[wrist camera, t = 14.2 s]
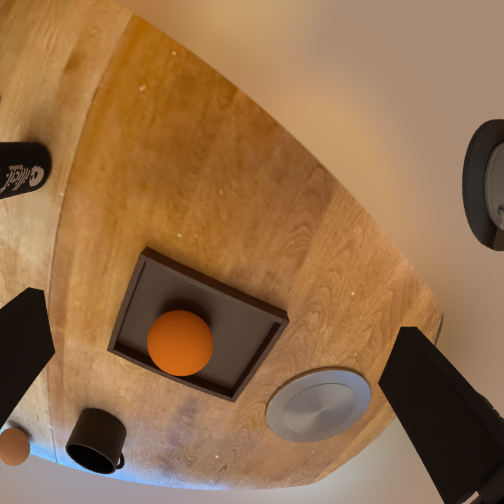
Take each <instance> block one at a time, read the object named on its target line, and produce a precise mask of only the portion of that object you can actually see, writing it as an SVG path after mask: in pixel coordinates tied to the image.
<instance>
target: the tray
mask: <svg viewBox="0 0 504 504" xmlns="http://www.w3.org/2000/svg"><path fill="white" fill-rule="evenodd" d="M175 310H183V311H188V312H191V313H194V314H196V315H197V316H199V317H200V318H201V319H202V320H203V321H204V322H205V323H206V324H207V325H208V327H209V329H210V331H211V333H212V337H213V352H212V355H211V358H210V359H209V361H208V363H207V364H206V365H205V366H204V367H203V368H202V369H201V370H199V371H198V372H196V373H194V374H191V375H187V376H176V375H172V374H169V373H167V372H165V371H163V370H161V369H160V368H159V367H158V366H157V365H156V364H155V363H154V362H153V360H152V358H151V357H150V354H149V351H148V347H147V337H148V332H149V330H150V328H151V326H152V324H153V323H154V322H155V320H156V319H157V318H159V317H160V316H161V315H163V314H165V313H167V312H170V311H175ZM289 322H290V321H289V318H288V315H287V312H285V311H283V310H281V309H278V308H276V307H274V306H272V305H269V304H267V303H265V302H263V301H260V300H258V299H256V298H254V297H251V296H249V295H247V294H245V293H242V292H240V291H238V290H236V289H234V288H231V287H229V286H227V285H225V284H223V283H220V282H218V281H216V280H214V279H212V278H210V277H208V276H205V275H203V274H201V273H199V272H197V271H195V270H193V269H191V268H188V267H186V266H184V265H182V264H180V263H178V262H176V261H174V260H172V259H170V258H168V257H165V256H163V255H161V254H159V253H157V252H155V251H153V250H151V249H149V248H147V247H146V248H145V249H144V251H143V252H142V253H141V254H140V256H139V259H138V262H137V264H136V267H135V269H134V272H133V275H132V277H131V280H130V283H129V285H128V288H127V291H126V294H125V297H124V299H123V302H122V305H121V308H120V311H119V314H118V317H117V320H116V323H115V326H114V329H113V332H112V336H111V339H110V342H109V345H108V349H107V351H109V352H111V353H113V354H115V355H117V356H119V357H122V358H124V359H126V360H128V361H130V362H132V363H134V364H136V365H139V366H141V367H143V368H145V369H147V370H150V371H152V372H154V373H157V374H159V375H161V376H164V377H166V378H168V379H171V380H173V381H176V382H178V383H181V384H183V385H186V386H188V387H191V388H194V389H196V390H199V391H202V392H205V393H207V394H210V395H213V396H216V397H219V398H222V399H225V400H228V401H231V402H235V401H236V400H237V398H238V397H239V396H240V394H241V393H242V391H243V390H244V389H245V387H246V386H247V384H248V383H249V381H250V380H251V379H252V377H253V376H254V374H255V373H256V371H257V370H258V368H259V367H260V366H261V364H262V363H263V361H264V360H265V358H266V357H267V355H268V354H269V352H270V351H271V349H272V348H273V346H274V345H275V343H276V342H277V340H278V339H279V337H280V336H281V334H282V333H283V331H284V330H285V328H286V327H287V325H288V324H289Z"/></svg>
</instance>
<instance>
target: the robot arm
mask: <svg viewBox="0 0 504 504" xmlns="http://www.w3.org/2000/svg"><path fill="white" fill-rule="evenodd" d="M483 189H484V200H485V205H486V209H487V212H488V215H489V217H490V219H491V221H492V222H493V223H494V225H495V226H497V227H498V228H500V229H502V230H504V142H502V143H499V144H498V145H497V146H496V147H495V148H494V149H493V150H492V152H491V154H490V156H489V158H488V161H487V164H486V168H485V173H484V184H483ZM54 354H55V349H54V345H53V340H52V335H51V331H50V325H49V320H48V315H47V309H46V303H45V296H44V290H39V289H35V288H30V287H28V288H27V289H25V290H24V291H23V292H22V293H20V294H19V295H18V296H16V297H15V298H14V299H12V300H11V301H10V302H9V303H7V304H6V305H5V306H4V307H2V308H1V309H0V430H1V428H2V426H3V425H4V423H5V422H6V420H7V419H8V417H9V416H10V414H11V413H12V411H13V410H14V408H15V407H16V405H17V404H18V403H19V401H20V400H21V398H22V397H23V395H24V394H25V393H26V391H27V390H28V388H29V387H30V386H31V384H32V383H33V382H34V380H35V379H36V377H37V376H38V375H39V373H40V372H41V371H42V369H43V368H44V367H45V365H46V364H47V363H48V361H49V360H50V359H51V358H52V356H53V355H54ZM378 384H379V386H380V388H381V389H382V391H383V393H384V394H385V396H386V398H387V400H388V401H389V403H390V405H391V407H392V408H393V410H394V412H395V413H396V415H397V417H398V419H399V420H400V422H401V424H402V426H403V428H404V429H405V431H406V433H407V434H408V436H409V438H410V440H411V442H412V444H413V445H414V447H415V449H416V451H417V453H418V455H419V456H420V458H421V460H422V462H423V464H424V466H425V467H426V469H427V471H428V473H429V475H430V477H431V479H432V481H433V482H434V484H435V486H436V488H437V490H438V492H439V494H440V496H441V498H442V500H443V502H444V504H461V503H463V502H465V501H466V500H467V499H469V498H470V497H471V496H472V495H473V494H474V493H475V492H476V491H477V492H478V494H479V496H478V497H477V498H476V499H474V500H473V501H472V502H471V503H470V504H504V419H503V418H502V417H500V414H499V413H498V412H497V411H496V410H495V409H493V406H492V405H491V404H490V403H489V401H488V400H487V399H486V398H485V397H484V396H482V395H481V394H479V393H478V392H476V391H475V390H474V388H473V387H472V386H471V385H470V384H469V383H468V382H467V381H466V379H465V378H464V377H463V376H462V375H461V374H460V373H459V372H458V371H457V369H456V368H455V367H454V366H453V365H452V364H451V363H450V362H449V361H448V360H447V359H446V357H445V356H443V354H442V353H441V352H440V351H439V350H438V349H437V348H436V347H435V346H434V345H433V344H432V343H431V342H430V340H429V339H428V338H427V337H426V336H425V335H424V334H423V333H422V332H421V331H420V330H419V329H418V328H417V327H400V330H399V333H398V336H397V338H396V341H395V344H394V346H393V349H392V351H391V354H390V356H389V359H388V361H387V364H386V366H385V368H384V371H383V373H382V375H381V378H380V380H379V382H378Z"/></svg>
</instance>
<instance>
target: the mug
mask: <svg viewBox="0 0 504 504" xmlns="http://www.w3.org/2000/svg"><path fill="white" fill-rule="evenodd" d="M125 438H126V430H125V428H124V426H123V425H122V423H121V422H120V421H119V420H118V419H116V418H115V417H114V416H112V415H110V414H108V413H106V412H104V411H101V410H97V409H86V410H84V411H83V412H82V413H81V415H80V417H79V419H78V421H77V423H76V425H75V427H74V429H73V431H72V433H71V436H70V438H69V440H68V442H67V444H66V452H67V453H68V455H69V456H70V457H71V458H72V459H73V460H74V461H75V462H76V463H78V464H79V465H81V466H82V467H84V468H86V469H88V470H90V471H93V472H96V473H100V474H112V473H114V472H115V470H116V469H121V468H123V466H124V462H125V460H124V456H123V454H122V452H121V451H122V447H123V444H124V441H125ZM119 457H120V464H119V465H117V464H118V461H119Z"/></svg>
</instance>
